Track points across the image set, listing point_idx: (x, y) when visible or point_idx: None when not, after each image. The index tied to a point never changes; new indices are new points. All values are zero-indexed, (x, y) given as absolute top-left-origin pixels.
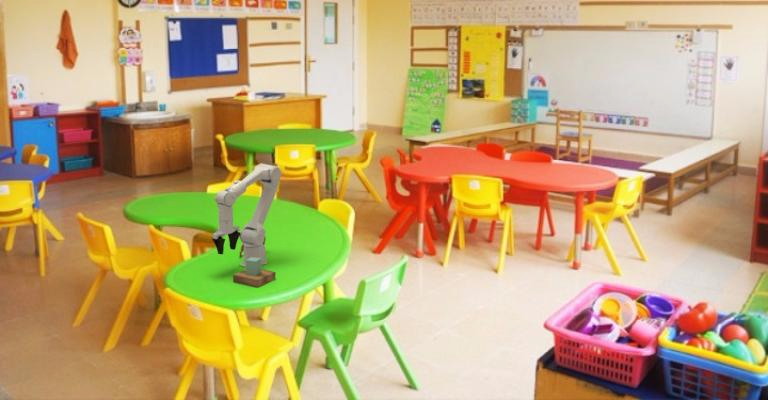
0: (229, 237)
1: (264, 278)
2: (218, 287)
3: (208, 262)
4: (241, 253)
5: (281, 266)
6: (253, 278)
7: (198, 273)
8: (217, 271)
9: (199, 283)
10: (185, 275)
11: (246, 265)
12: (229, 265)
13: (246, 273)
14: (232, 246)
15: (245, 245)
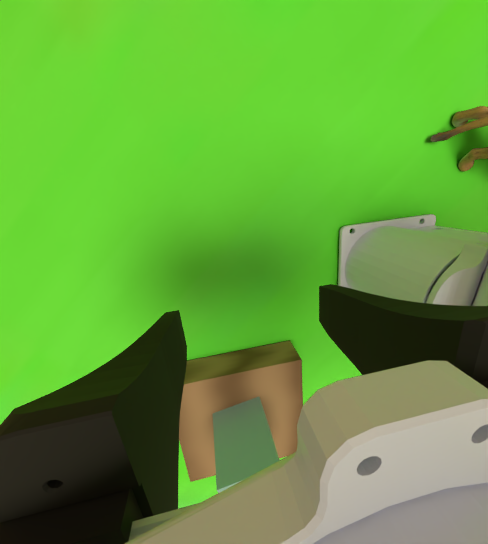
0: (398, 326)
1: None
2: (78, 374)
3: (296, 27)
4: (474, 118)
5: None
6: (197, 461)
7: (121, 144)
8: (218, 205)
9: (30, 278)
10: (31, 103)
11: (216, 458)
12: (320, 182)
13: (213, 418)
14: (332, 318)
15: (438, 299)
